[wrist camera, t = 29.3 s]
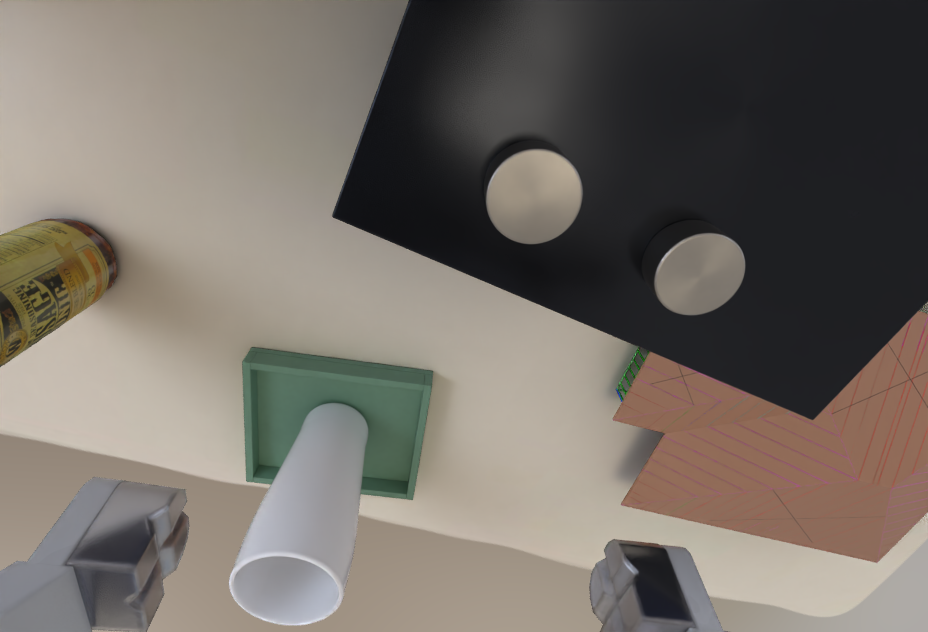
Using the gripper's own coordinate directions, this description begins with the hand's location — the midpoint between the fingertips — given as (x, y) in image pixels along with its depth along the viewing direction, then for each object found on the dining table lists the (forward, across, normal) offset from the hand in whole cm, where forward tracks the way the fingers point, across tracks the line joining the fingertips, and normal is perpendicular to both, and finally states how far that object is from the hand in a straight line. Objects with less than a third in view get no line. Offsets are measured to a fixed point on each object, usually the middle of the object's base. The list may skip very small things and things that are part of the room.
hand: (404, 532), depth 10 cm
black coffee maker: (+29, -7, -6) cm, 30 cm away
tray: (+27, +4, +24) cm, 36 cm away
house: (+27, -34, +15) cm, 46 cm away
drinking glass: (+26, +4, +24) cm, 36 cm away
